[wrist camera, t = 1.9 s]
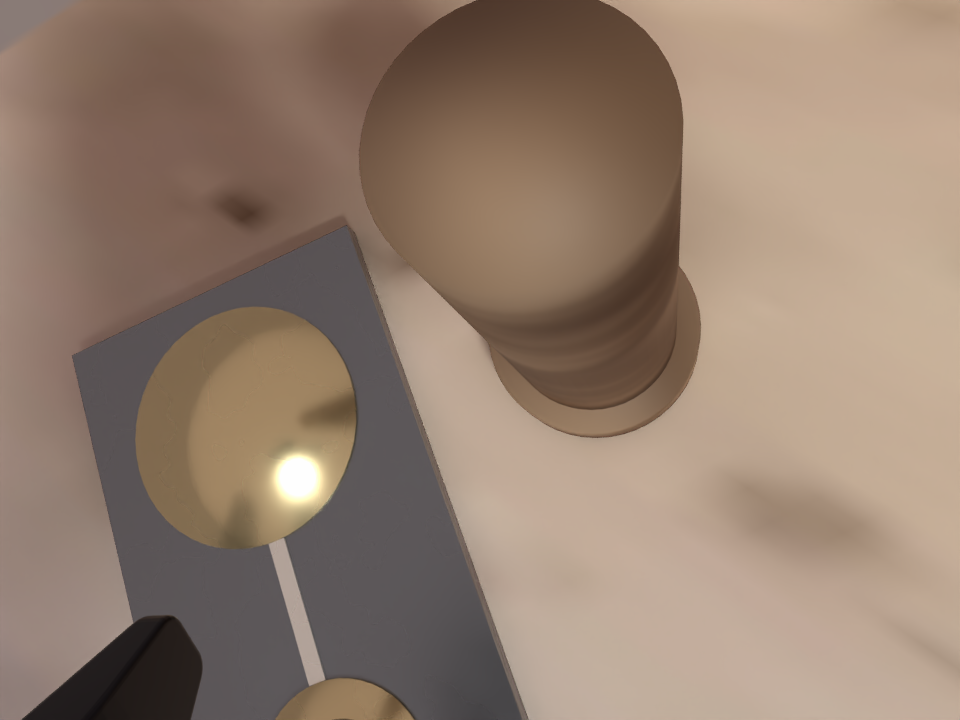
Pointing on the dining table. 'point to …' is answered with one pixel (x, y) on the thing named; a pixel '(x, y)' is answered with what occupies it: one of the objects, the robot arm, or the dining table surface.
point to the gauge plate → (291, 502)
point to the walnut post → (544, 202)
